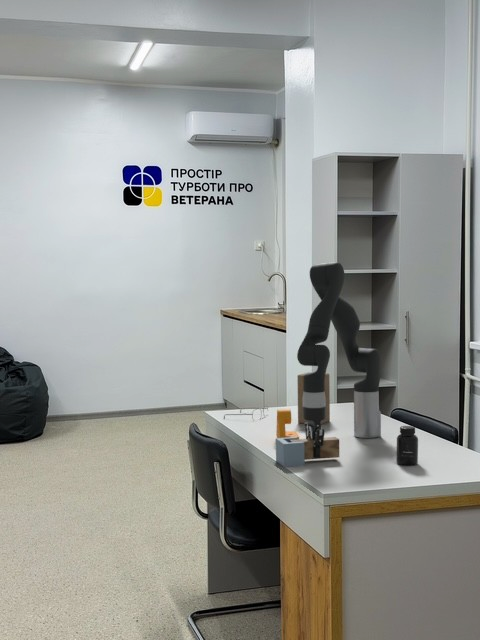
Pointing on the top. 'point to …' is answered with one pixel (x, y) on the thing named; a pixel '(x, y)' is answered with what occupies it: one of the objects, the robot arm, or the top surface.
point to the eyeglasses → (248, 414)
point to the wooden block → (300, 399)
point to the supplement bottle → (407, 446)
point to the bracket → (283, 419)
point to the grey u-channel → (289, 452)
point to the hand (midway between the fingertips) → (314, 456)
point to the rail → (321, 448)
